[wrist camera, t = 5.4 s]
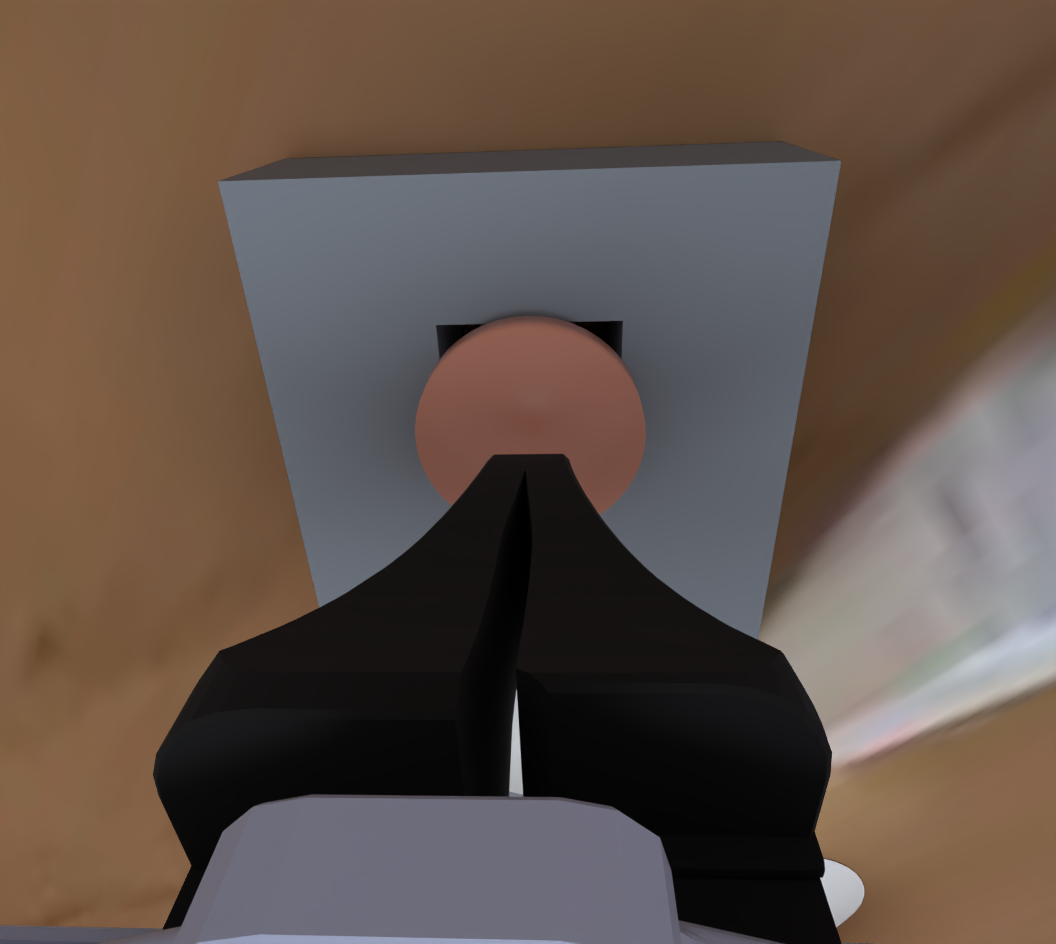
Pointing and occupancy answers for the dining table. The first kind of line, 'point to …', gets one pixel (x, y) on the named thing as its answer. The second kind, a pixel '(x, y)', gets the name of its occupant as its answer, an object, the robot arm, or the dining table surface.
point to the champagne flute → (842, 890)
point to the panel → (551, 291)
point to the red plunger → (531, 406)
